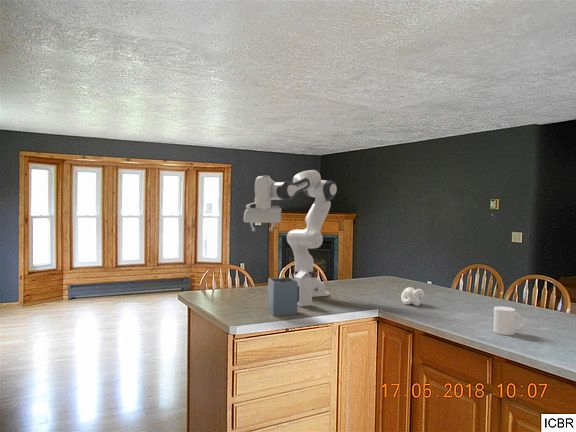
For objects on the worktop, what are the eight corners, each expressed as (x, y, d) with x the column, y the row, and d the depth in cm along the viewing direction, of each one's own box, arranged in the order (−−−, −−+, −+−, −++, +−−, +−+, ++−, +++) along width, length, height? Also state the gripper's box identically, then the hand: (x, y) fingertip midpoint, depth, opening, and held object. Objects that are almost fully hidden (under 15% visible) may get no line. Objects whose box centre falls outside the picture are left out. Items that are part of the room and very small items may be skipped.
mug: (491, 305, 194) (521, 307, 191) (491, 329, 194) (521, 331, 191) (496, 309, 186) (527, 311, 183) (495, 334, 186) (527, 336, 183)
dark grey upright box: (295, 308, 229) (295, 277, 228) (301, 314, 217) (302, 281, 217) (267, 310, 225) (268, 278, 225) (273, 315, 213) (273, 282, 213)
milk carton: (300, 306, 233) (300, 270, 233) (293, 304, 240) (294, 269, 239) (311, 305, 237) (312, 270, 236) (305, 303, 243) (305, 268, 243)
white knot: (416, 301, 251) (416, 286, 250) (429, 306, 239) (429, 289, 239) (398, 303, 247) (398, 286, 247) (410, 307, 236) (411, 290, 236)
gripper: (279, 205, 245) (279, 230, 245) (243, 205, 240) (242, 230, 240) (282, 205, 239) (282, 231, 239) (245, 205, 234) (244, 231, 234)
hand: (262, 231), depth 240 cm, fingers open, 8 cm apart
